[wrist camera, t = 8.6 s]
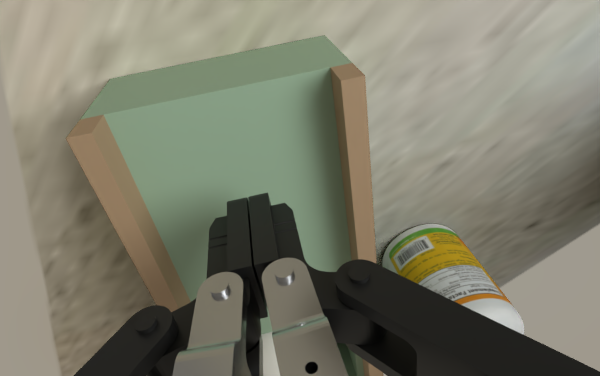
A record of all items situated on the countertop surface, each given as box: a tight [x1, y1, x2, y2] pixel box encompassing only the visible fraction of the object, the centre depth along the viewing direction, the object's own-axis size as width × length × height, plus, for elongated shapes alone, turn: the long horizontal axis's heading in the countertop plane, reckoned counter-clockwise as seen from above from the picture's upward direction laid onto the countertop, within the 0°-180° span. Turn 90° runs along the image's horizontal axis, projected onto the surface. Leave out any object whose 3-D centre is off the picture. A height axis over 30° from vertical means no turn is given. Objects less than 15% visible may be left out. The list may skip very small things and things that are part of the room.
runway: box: [66, 35, 383, 376], centre depth 21 cm, size 10×22×6 cm, turn 9°
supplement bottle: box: [382, 224, 524, 335], centre depth 22 cm, size 5×5×10 cm
